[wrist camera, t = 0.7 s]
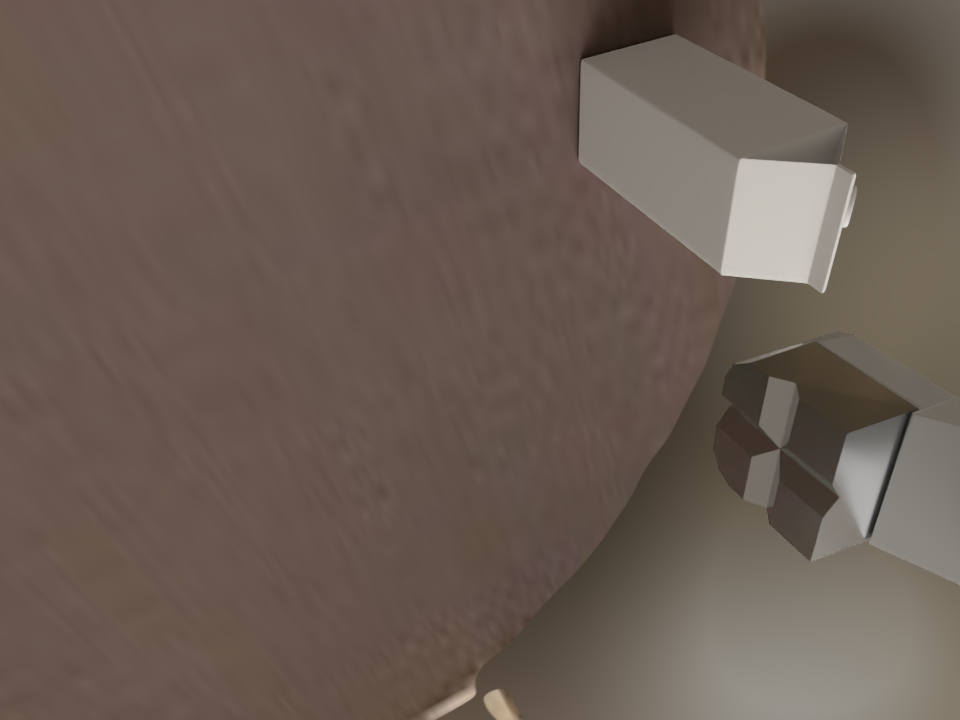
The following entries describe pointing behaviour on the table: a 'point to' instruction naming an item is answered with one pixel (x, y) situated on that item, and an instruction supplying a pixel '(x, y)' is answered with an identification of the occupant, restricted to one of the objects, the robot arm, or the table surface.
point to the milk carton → (718, 158)
